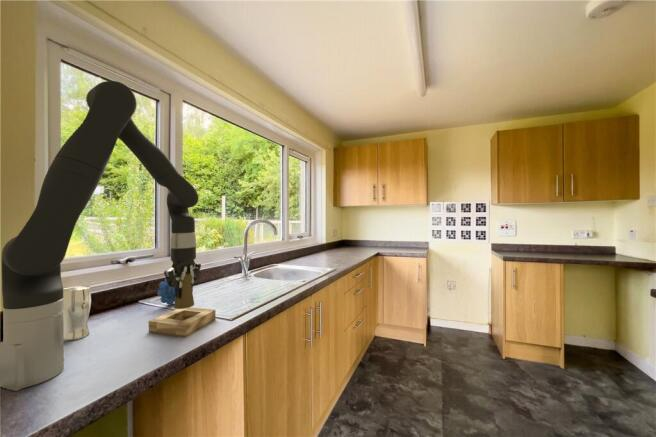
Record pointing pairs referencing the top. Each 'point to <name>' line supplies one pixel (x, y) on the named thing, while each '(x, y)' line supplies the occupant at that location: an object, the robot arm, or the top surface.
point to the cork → (185, 293)
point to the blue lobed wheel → (166, 293)
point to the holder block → (182, 321)
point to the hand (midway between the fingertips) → (184, 296)
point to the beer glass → (76, 312)
